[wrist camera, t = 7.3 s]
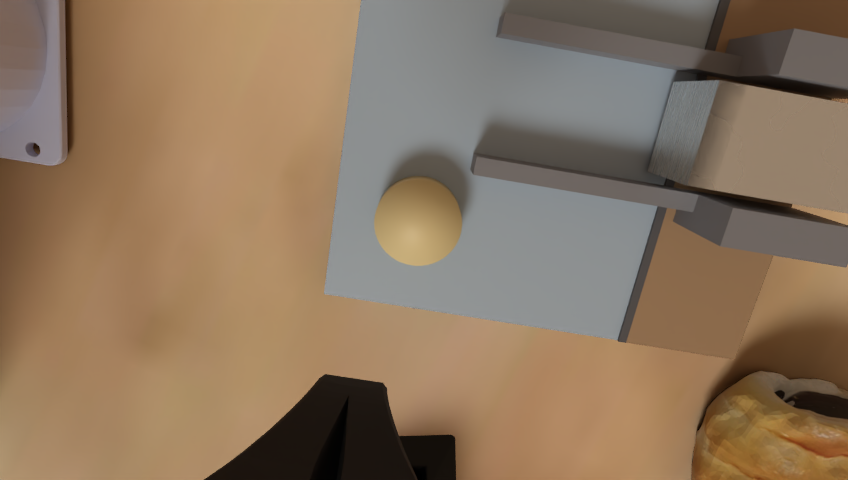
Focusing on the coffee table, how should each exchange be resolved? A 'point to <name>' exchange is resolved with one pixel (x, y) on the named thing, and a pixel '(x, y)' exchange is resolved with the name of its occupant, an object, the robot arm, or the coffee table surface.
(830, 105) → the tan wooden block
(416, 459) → the black block
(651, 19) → the door board
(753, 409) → the pastry
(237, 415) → the coffee table surface
